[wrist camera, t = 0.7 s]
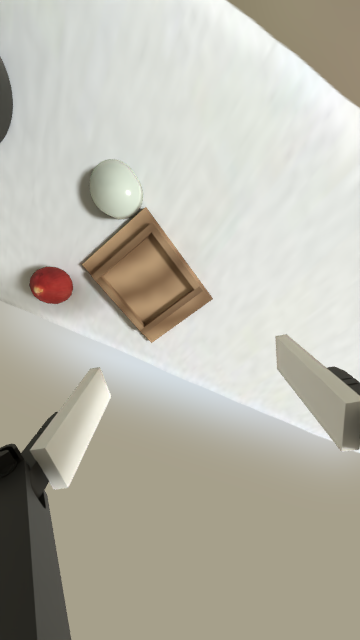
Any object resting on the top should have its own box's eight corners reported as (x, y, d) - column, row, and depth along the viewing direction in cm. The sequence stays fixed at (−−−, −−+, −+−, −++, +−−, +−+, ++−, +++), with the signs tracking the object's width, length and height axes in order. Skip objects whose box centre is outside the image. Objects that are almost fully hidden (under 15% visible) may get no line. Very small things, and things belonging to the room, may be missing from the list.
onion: (45, 290, 37) (10, 300, 29) (52, 259, 35) (16, 262, 28) (77, 302, 38) (50, 316, 30) (85, 273, 36) (58, 279, 28)
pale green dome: (88, 189, 32) (79, 183, 29) (121, 156, 30) (115, 146, 27) (119, 228, 33) (113, 226, 31) (152, 199, 32) (149, 194, 29)
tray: (85, 264, 35) (77, 265, 33) (146, 208, 32) (143, 204, 30) (152, 340, 40) (150, 346, 37) (211, 297, 37) (214, 300, 34)
